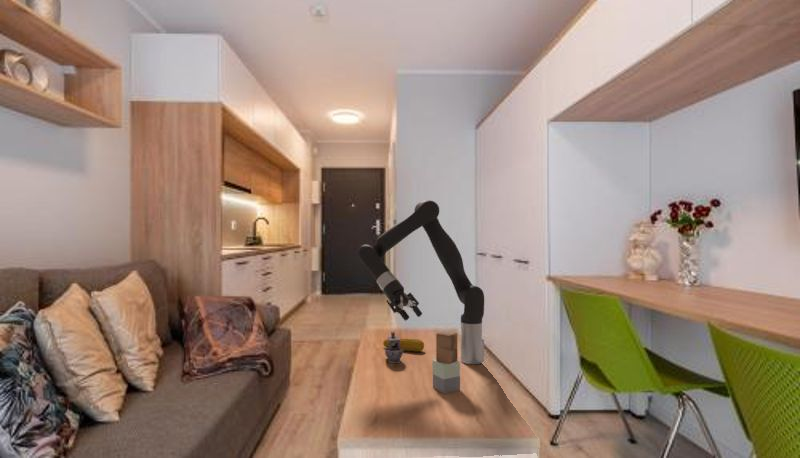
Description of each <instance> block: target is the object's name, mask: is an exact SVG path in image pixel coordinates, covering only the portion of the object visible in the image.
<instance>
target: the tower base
mask: <svg viewBox="0 0 800 458" xmlns="http://www.w3.org/2000/svg"><path fill="white" fill-rule="evenodd" d="M432 388H433V389H435V390H437V391H438V392H440V393H442V394H448V393H452V392H458V391H461V375H460V376H458V377H453V378H448V379H442V378H440V377H438V376H436V375H434V374H433V373H432Z"/></svg>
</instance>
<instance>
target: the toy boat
mask: <svg viewBox="0 0 800 458" xmlns="http://www.w3.org/2000/svg"><path fill="white" fill-rule="evenodd" d="M387 339H388V341H389V348H387V347H384V355H385V356H386V357H387V360H388V361H387V362H388V363H390V364H399V363H400V362H401V358H402V356H403V354H404V351H403V349H402V350H400V341H401V339H402V338H401V337H399V336H398V335H397V336H396V332H395V331H394V330H392V331H391V332H390V336H387ZM392 343H395V344H394V345H392Z"/></svg>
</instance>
